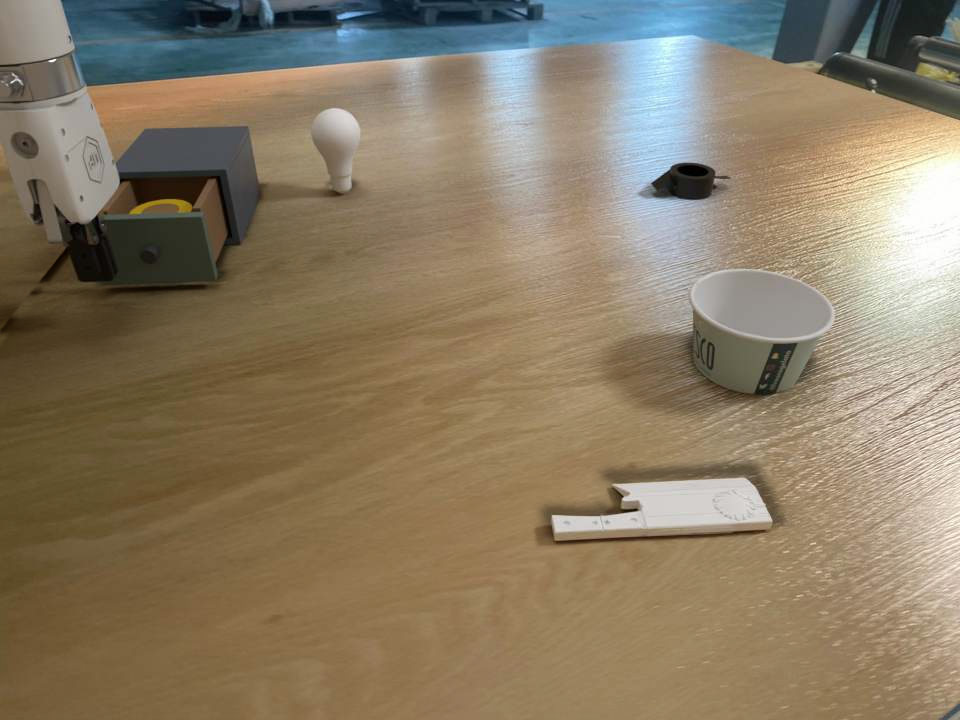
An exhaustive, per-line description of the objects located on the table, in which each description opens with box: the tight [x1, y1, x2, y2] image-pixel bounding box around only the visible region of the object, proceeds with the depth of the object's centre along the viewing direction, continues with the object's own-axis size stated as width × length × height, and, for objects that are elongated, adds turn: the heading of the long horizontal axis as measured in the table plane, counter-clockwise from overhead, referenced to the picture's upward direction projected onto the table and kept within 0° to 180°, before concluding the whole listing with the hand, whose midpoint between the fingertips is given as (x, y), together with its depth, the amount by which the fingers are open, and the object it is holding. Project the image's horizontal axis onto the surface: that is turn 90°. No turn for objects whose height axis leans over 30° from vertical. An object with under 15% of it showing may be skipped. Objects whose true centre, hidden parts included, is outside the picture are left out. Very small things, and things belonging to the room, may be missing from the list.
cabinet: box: [115, 125, 261, 246], centre depth 91 cm, size 15×13×9 cm
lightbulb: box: [310, 107, 362, 195], centre depth 97 cm, size 6×6×11 cm
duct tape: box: [650, 162, 731, 201], centre depth 100 cm, size 8×10×3 cm
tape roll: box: [129, 199, 193, 214], centre depth 81 cm, size 6×6×5 cm
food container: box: [688, 268, 836, 395], centre depth 67 cm, size 12×12×7 cm
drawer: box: [102, 176, 230, 286], centre depth 82 cm, size 15×11×7 cm
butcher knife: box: [550, 477, 773, 542], centre depth 54 cm, size 5×15×1 cm, turn 94°
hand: (99, 277), depth 72 cm, fingers closed
